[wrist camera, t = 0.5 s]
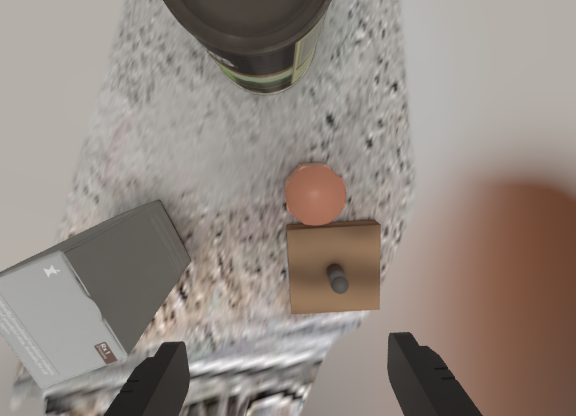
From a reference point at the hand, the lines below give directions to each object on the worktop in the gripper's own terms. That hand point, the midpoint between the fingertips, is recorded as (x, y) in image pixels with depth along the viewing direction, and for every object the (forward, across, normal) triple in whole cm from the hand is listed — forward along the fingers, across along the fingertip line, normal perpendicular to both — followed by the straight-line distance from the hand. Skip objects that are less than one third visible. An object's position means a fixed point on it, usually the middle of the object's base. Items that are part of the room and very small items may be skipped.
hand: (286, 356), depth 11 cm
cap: (+22, -3, -3) cm, 22 cm away
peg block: (+21, -5, +6) cm, 23 cm away
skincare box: (+22, +15, +2) cm, 26 cm away
